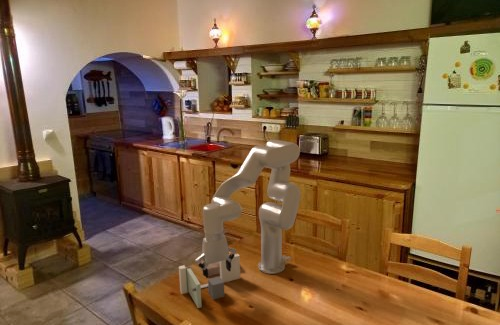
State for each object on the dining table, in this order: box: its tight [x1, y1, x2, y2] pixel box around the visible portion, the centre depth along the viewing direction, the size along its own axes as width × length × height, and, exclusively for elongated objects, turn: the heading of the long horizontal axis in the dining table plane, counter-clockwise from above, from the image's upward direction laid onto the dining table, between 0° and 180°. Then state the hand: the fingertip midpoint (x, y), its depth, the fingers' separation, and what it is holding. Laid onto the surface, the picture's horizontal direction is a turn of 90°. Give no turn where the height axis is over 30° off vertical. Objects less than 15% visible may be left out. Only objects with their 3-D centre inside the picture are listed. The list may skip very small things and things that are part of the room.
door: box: [185, 266, 203, 309], centre depth 144 cm, size 15×3×10 cm, turn 26°
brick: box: [200, 260, 220, 277], centre depth 168 cm, size 17×8×5 cm, turn 112°
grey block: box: [207, 275, 225, 301], centre depth 148 cm, size 5×5×6 cm
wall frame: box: [178, 253, 241, 295], centre depth 154 cm, size 27×2×12 cm, turn 116°
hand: (217, 273), depth 147 cm, fingers open, 9 cm apart
